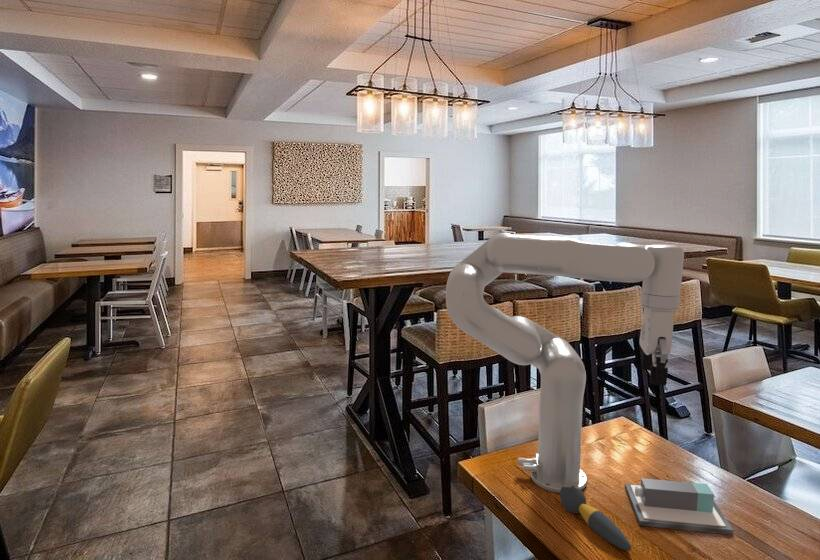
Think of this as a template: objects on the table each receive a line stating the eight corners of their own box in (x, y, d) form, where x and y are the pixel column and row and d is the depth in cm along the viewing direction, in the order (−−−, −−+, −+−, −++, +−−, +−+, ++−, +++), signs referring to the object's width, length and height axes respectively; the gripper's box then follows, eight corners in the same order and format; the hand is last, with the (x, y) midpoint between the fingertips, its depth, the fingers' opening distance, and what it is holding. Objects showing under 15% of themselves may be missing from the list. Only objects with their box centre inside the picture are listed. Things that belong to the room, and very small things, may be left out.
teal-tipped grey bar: (637, 505, 107) (638, 487, 107) (633, 494, 111) (634, 477, 111) (712, 512, 105) (714, 494, 104) (705, 501, 109) (706, 483, 108)
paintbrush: (643, 548, 96) (644, 524, 95) (625, 557, 94) (626, 533, 93) (565, 496, 113) (565, 475, 113) (548, 503, 111) (548, 482, 110)
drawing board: (639, 525, 103) (640, 519, 103) (624, 487, 116) (625, 482, 116) (732, 534, 99) (733, 528, 99) (706, 494, 113) (706, 489, 113)
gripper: (635, 293, 121) (629, 363, 123) (648, 308, 104) (641, 388, 107) (670, 295, 119) (663, 366, 121) (689, 311, 102) (681, 392, 105)
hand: (653, 376), depth 114 cm, fingers open, 9 cm apart
